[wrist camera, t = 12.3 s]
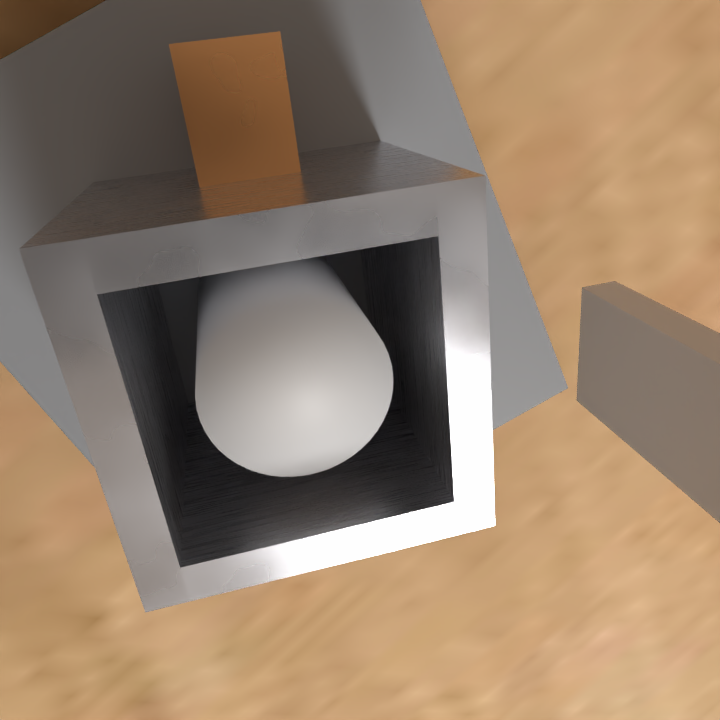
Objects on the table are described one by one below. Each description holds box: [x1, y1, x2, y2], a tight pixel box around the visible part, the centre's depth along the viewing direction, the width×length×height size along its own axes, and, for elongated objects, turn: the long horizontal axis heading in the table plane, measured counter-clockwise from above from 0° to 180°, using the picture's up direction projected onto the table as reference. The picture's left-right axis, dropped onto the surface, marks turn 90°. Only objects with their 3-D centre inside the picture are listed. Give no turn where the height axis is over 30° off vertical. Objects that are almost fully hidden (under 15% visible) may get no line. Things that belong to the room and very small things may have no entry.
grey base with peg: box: [0, 0, 568, 477], centre depth 18 cm, size 18×16×8 cm
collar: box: [19, 31, 495, 612], centre depth 16 cm, size 8×11×8 cm
